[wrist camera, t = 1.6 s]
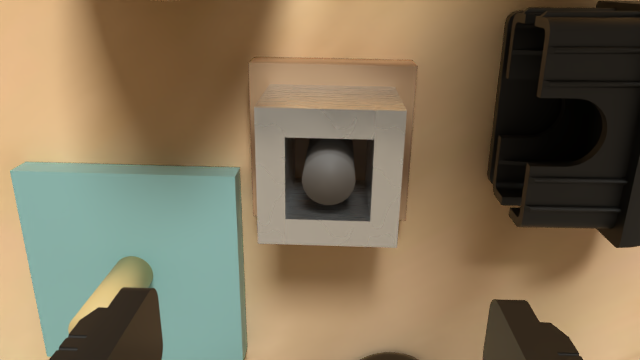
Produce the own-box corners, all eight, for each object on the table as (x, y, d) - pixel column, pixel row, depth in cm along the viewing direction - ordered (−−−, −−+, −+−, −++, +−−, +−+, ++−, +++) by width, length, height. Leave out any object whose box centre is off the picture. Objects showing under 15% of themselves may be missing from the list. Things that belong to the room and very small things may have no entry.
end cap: (615, 192, 29) (691, 251, 23) (484, 191, 30) (523, 248, 23) (655, 0, 26) (758, 6, 19) (507, -1, 26) (560, 6, 20)
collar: (269, 84, 26) (254, 107, 21) (394, 86, 26) (407, 110, 21) (272, 199, 28) (257, 243, 23) (387, 202, 28) (396, 247, 23)
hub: (25, 161, 30) (-64, 213, 23) (239, 167, 29) (210, 221, 23) (59, 340, 34) (-8, 426, 27) (247, 347, 34) (224, 436, 27)
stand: (254, 57, 27) (227, 81, 21) (412, 60, 27) (435, 85, 21) (258, 201, 30) (236, 263, 24) (401, 205, 30) (418, 268, 23)
